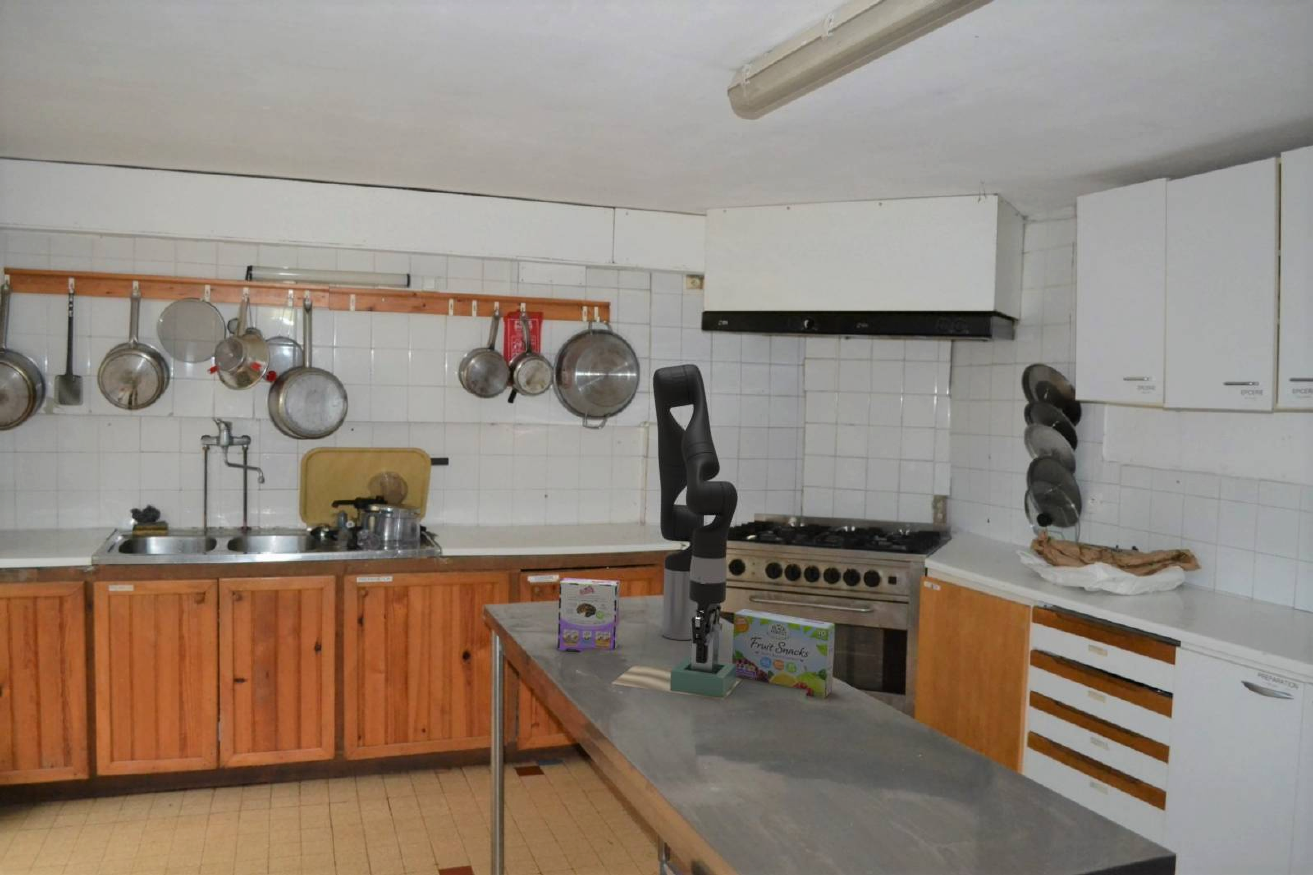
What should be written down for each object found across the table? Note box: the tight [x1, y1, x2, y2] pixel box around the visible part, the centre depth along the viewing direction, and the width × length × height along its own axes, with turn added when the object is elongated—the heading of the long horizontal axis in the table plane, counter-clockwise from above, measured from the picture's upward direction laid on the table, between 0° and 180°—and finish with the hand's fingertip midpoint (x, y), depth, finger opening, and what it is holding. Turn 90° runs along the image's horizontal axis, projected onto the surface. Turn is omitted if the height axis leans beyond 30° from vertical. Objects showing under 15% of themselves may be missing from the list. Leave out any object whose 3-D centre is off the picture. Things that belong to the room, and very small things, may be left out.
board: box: [611, 664, 743, 701], centre depth 202 cm, size 15×24×1 cm, turn 71°
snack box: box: [731, 608, 836, 700], centre depth 205 cm, size 21×6×15 cm, turn 62°
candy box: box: [557, 577, 620, 653], centre depth 228 cm, size 14×6×16 cm, turn 84°
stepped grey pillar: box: [690, 621, 724, 674], centre depth 199 cm, size 4×6×12 cm
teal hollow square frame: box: [670, 656, 737, 698], centre depth 199 cm, size 11×11×4 cm
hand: (704, 659), depth 199 cm, fingers closed on stepped grey pillar, 4 cm apart
